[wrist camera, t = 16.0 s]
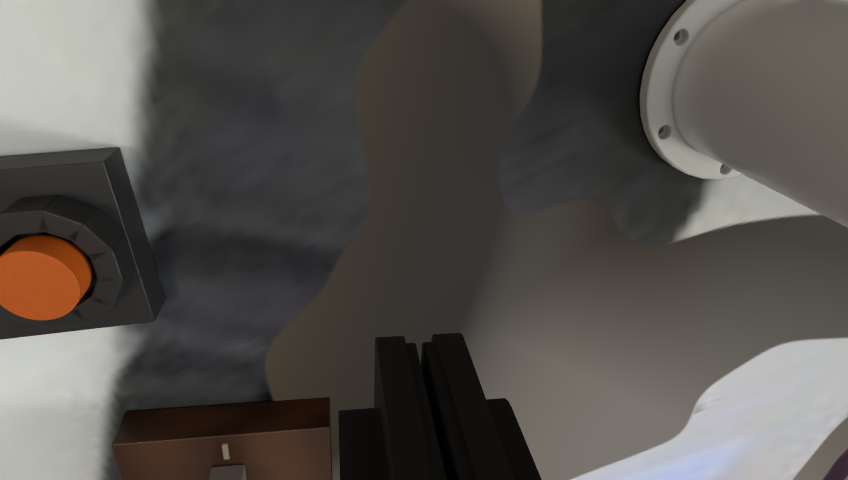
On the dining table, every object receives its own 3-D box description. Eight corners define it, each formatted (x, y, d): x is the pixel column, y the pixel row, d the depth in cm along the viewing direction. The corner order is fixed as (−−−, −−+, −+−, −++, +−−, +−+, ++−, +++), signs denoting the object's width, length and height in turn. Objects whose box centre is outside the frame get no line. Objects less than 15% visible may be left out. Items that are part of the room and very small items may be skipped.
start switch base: (119, 146, 30) (88, 175, 26) (165, 299, 34) (144, 342, 31) (-145, 167, 28) (-221, 200, 24) (-60, 323, 33) (-112, 373, 29)
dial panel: (329, 396, 40) (329, 429, 37) (333, 498, 45) (333, 533, 42) (125, 411, 38) (109, 446, 35) (152, 516, 43) (140, 554, 40)
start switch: (78, 230, 27) (63, 246, 26) (102, 297, 29) (90, 315, 28) (-8, 238, 27) (-28, 255, 25) (22, 306, 29) (5, 325, 27)
